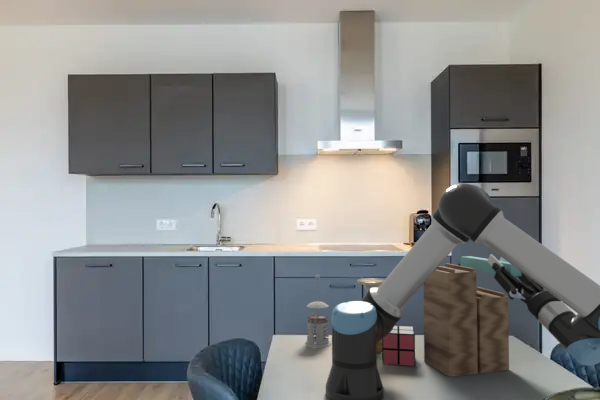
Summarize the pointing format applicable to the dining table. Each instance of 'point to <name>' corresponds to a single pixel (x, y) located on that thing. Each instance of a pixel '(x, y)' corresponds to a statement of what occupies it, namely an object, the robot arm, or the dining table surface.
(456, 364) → the brown boxy piece
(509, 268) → the bar
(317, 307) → the french press
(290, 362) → the dining table surface
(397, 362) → the puzzle cube
